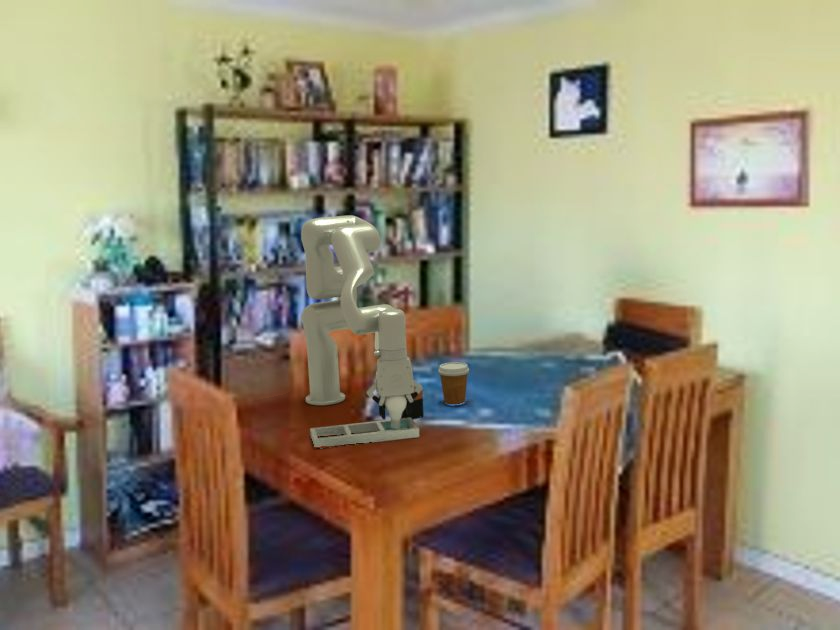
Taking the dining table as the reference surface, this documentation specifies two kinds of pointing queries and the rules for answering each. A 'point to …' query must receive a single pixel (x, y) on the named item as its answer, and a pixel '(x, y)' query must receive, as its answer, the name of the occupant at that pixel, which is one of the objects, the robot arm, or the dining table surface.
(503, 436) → the dining table surface
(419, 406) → the battery
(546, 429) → the dining table surface
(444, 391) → the disposable coffee cup
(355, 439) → the rail
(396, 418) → the lightbulb
